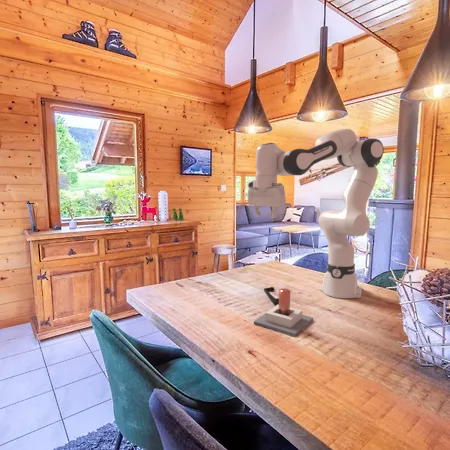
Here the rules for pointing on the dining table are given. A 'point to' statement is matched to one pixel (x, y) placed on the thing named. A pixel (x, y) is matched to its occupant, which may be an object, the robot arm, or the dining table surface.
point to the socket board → (285, 329)
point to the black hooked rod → (275, 301)
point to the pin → (284, 302)
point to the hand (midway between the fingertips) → (265, 217)
